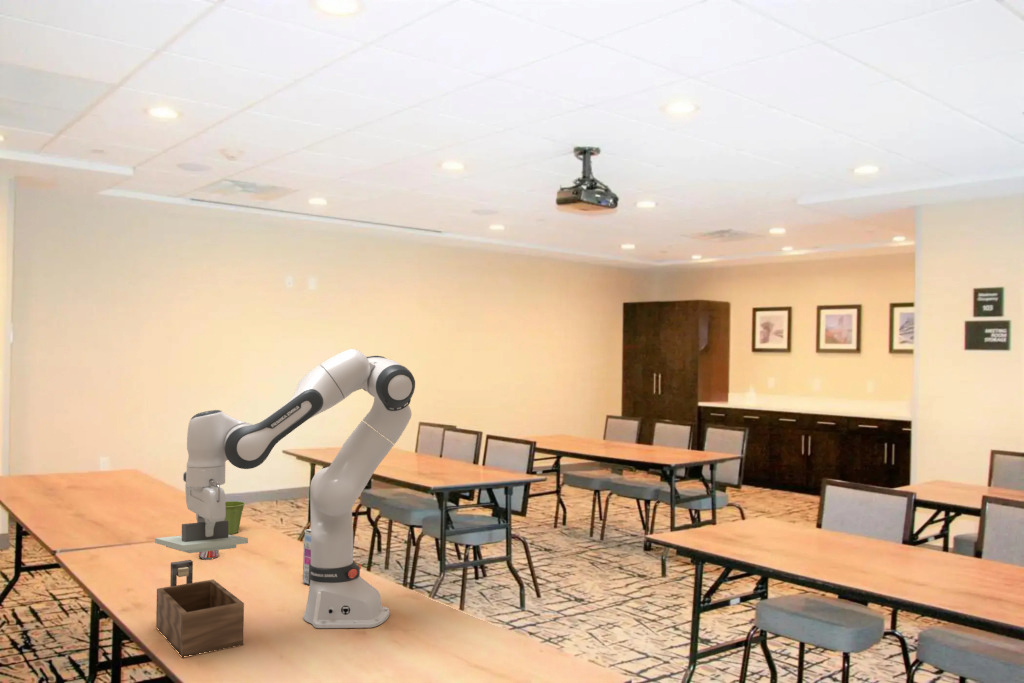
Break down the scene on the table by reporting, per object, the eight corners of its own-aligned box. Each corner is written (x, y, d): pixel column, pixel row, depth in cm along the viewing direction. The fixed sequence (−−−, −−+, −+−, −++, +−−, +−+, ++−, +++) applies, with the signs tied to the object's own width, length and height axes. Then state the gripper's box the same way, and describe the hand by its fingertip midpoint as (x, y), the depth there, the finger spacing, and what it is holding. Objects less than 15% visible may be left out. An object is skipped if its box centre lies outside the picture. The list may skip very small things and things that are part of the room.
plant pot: (251, 531, 303) (251, 502, 304) (225, 537, 293) (226, 507, 293) (231, 528, 310) (231, 499, 310) (205, 533, 300) (206, 504, 300)
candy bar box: (312, 587, 233) (312, 532, 234) (302, 583, 237) (302, 529, 237) (342, 579, 242) (342, 526, 242) (332, 576, 245) (332, 523, 245)
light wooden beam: (188, 575, 204) (188, 568, 204) (178, 577, 203) (179, 569, 203) (180, 568, 211) (180, 561, 211) (170, 570, 209) (171, 562, 209)
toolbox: (243, 644, 187) (244, 583, 187) (182, 658, 179) (183, 593, 179) (207, 612, 210) (208, 557, 210) (151, 622, 202) (152, 565, 202)
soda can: (211, 560, 262) (212, 524, 262) (195, 559, 263) (195, 523, 263) (222, 555, 268) (223, 520, 268) (206, 554, 269) (206, 519, 269)
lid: (248, 547, 187) (248, 521, 188) (182, 555, 178) (182, 527, 179) (215, 540, 207) (215, 516, 207) (154, 547, 197) (155, 522, 198)
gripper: (233, 481, 184) (232, 540, 183) (207, 470, 200) (206, 524, 200) (205, 484, 180) (204, 544, 180) (181, 473, 196) (180, 528, 196)
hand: (205, 534), depth 190 cm, fingers closed on lid, 4 cm apart
